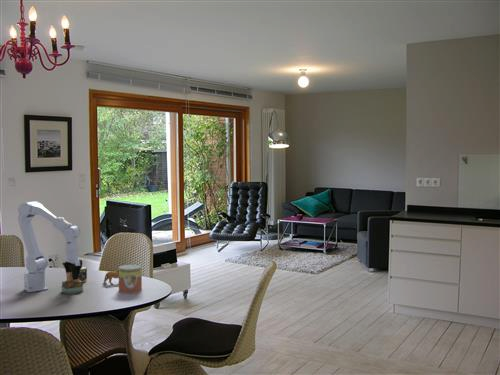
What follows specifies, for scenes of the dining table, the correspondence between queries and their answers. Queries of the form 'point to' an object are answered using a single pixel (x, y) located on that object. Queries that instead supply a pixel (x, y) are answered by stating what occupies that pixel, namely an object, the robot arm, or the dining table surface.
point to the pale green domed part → (72, 290)
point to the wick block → (71, 278)
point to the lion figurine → (110, 275)
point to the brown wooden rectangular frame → (72, 284)
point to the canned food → (130, 279)
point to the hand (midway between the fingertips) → (72, 277)
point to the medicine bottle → (82, 272)
